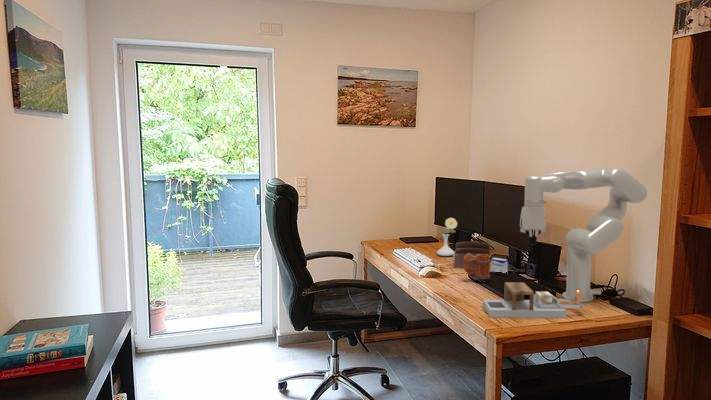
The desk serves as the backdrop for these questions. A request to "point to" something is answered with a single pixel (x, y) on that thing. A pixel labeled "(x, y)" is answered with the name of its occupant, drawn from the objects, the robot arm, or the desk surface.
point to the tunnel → (517, 293)
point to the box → (499, 265)
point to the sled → (556, 301)
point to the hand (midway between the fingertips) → (532, 245)
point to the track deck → (520, 310)
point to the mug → (477, 265)
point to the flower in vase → (445, 249)
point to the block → (544, 297)
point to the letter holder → (471, 248)
